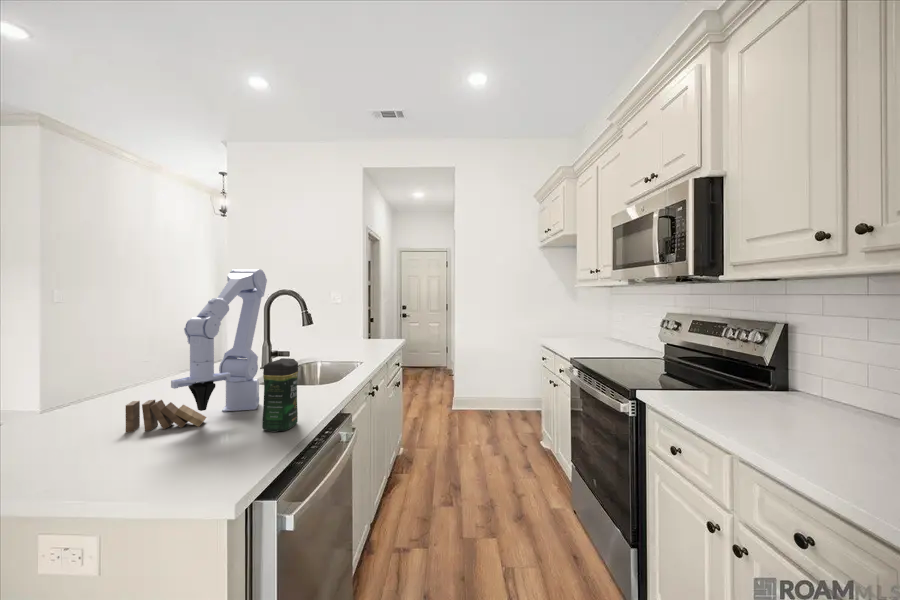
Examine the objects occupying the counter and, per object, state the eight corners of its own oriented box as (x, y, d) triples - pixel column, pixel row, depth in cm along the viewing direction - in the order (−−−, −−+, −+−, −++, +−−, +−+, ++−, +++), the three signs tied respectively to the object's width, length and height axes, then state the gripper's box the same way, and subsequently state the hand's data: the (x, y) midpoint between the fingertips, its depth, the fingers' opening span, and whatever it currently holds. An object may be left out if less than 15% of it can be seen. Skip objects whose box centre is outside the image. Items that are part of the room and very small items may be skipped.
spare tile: (206, 417, 119) (183, 404, 117) (202, 421, 115) (178, 408, 113) (203, 422, 119) (179, 409, 117) (198, 427, 115) (174, 413, 113)
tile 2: (190, 418, 118) (170, 402, 117) (186, 423, 114) (165, 406, 112) (186, 423, 118) (165, 406, 116) (181, 428, 114) (160, 410, 112)
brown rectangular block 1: (158, 424, 116) (155, 399, 115) (152, 429, 111) (149, 403, 111) (151, 425, 115) (148, 400, 115) (144, 431, 111) (141, 404, 111)
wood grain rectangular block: (139, 426, 114) (139, 400, 114) (132, 431, 110) (132, 405, 110) (132, 427, 114) (132, 401, 114) (125, 432, 110) (125, 405, 110)
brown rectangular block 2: (175, 421, 117) (161, 399, 116) (169, 426, 113) (155, 403, 112) (169, 424, 117) (155, 402, 115) (163, 429, 112) (149, 406, 111)
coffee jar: (287, 433, 111) (287, 362, 110) (257, 432, 111) (258, 361, 111) (302, 422, 120) (302, 356, 120) (274, 421, 121) (275, 356, 120)
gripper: (222, 356, 125) (222, 401, 125) (166, 362, 113) (166, 412, 113) (234, 358, 121) (233, 406, 121) (177, 365, 109) (177, 418, 109)
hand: (201, 409), depth 117 cm, fingers closed
